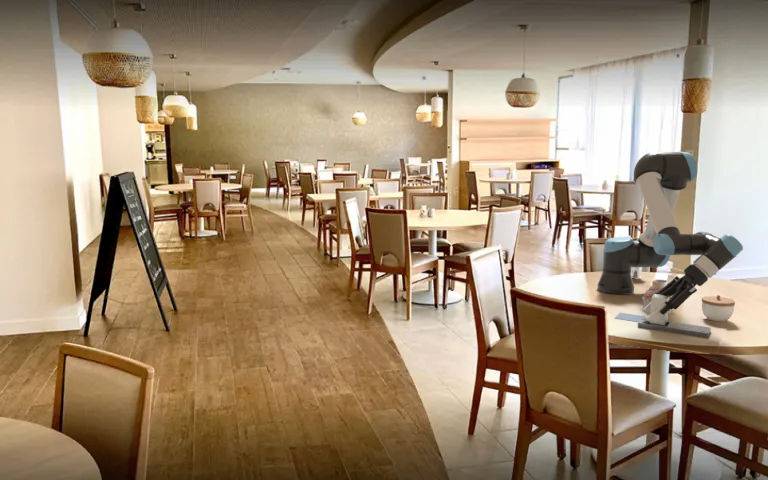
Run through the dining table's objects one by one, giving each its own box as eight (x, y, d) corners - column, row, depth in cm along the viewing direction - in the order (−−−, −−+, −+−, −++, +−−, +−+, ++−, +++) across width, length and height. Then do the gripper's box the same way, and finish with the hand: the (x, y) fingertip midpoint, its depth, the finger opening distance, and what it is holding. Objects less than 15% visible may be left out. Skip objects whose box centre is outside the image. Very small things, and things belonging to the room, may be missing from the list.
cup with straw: (633, 275, 304) (636, 235, 300) (649, 279, 296) (652, 237, 293) (621, 277, 299) (624, 236, 296) (637, 281, 292) (640, 238, 288)
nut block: (649, 324, 218) (651, 296, 216) (652, 321, 222) (654, 293, 220) (664, 327, 215) (667, 299, 213) (667, 323, 219) (669, 295, 218)
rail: (637, 328, 219) (638, 322, 218) (642, 322, 225) (642, 317, 225) (707, 339, 207) (708, 333, 206) (710, 333, 213) (710, 327, 213)
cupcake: (667, 314, 237) (669, 288, 235) (641, 311, 240) (642, 286, 238) (665, 307, 245) (667, 283, 244) (640, 305, 248) (642, 281, 247)
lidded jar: (694, 316, 234) (696, 292, 232) (721, 315, 235) (723, 291, 233) (711, 324, 223) (713, 299, 222) (739, 324, 224) (742, 298, 223)
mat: (614, 319, 229) (614, 318, 229) (620, 313, 237) (620, 312, 237) (640, 323, 224) (640, 322, 224) (645, 317, 232) (645, 316, 232)
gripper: (721, 285, 205) (666, 332, 209) (695, 272, 224) (645, 314, 228) (706, 269, 204) (651, 316, 208) (681, 257, 224) (632, 300, 228)
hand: (648, 315), depth 218 cm, fingers closed on nut block, 7 cm apart
